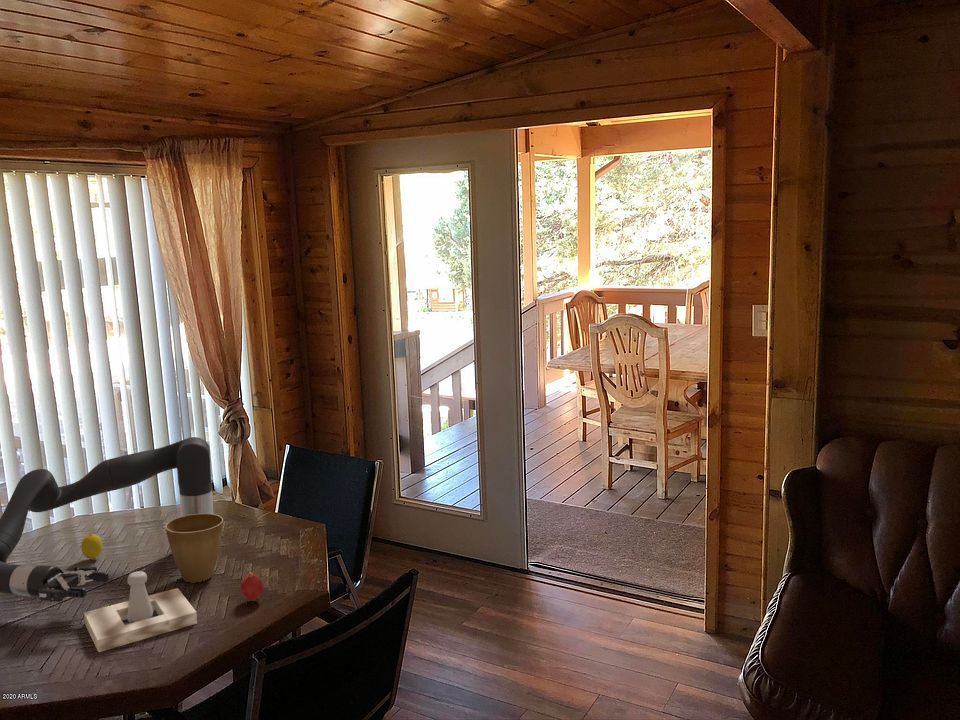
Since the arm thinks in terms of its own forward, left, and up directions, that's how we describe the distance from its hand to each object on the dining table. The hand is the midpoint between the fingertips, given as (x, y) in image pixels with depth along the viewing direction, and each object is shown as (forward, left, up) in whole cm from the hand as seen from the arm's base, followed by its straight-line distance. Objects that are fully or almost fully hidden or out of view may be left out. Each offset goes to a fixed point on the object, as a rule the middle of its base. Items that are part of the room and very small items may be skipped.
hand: (96, 584), depth 187 cm
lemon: (-6, -40, -10) cm, 42 cm away
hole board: (-8, +8, -9) cm, 14 cm away
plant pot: (-27, -10, -10) cm, 30 cm away
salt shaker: (-8, +8, -10) cm, 15 cm away
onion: (-34, +13, -10) cm, 37 cm away
